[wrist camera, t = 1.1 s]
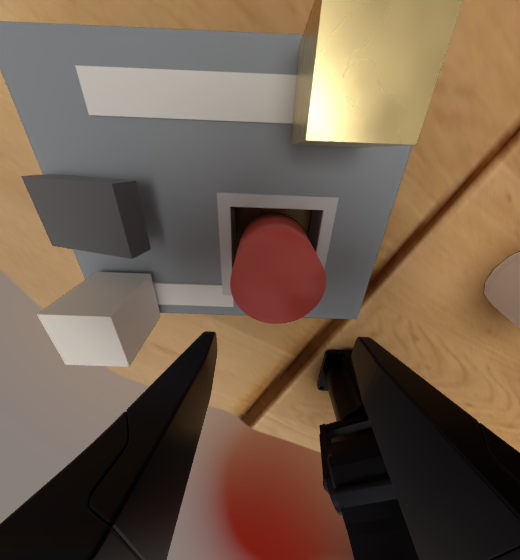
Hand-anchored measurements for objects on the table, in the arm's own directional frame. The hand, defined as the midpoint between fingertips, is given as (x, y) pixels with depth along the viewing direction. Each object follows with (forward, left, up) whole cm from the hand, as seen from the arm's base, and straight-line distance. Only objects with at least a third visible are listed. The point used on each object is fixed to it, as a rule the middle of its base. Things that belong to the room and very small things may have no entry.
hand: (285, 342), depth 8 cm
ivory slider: (-4, +11, -9) cm, 15 cm away
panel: (+3, +4, -12) cm, 13 cm away
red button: (0, 0, -10) cm, 10 cm away
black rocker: (+3, +11, -7) cm, 13 cm away
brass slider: (+9, -3, -8) cm, 12 cm away
